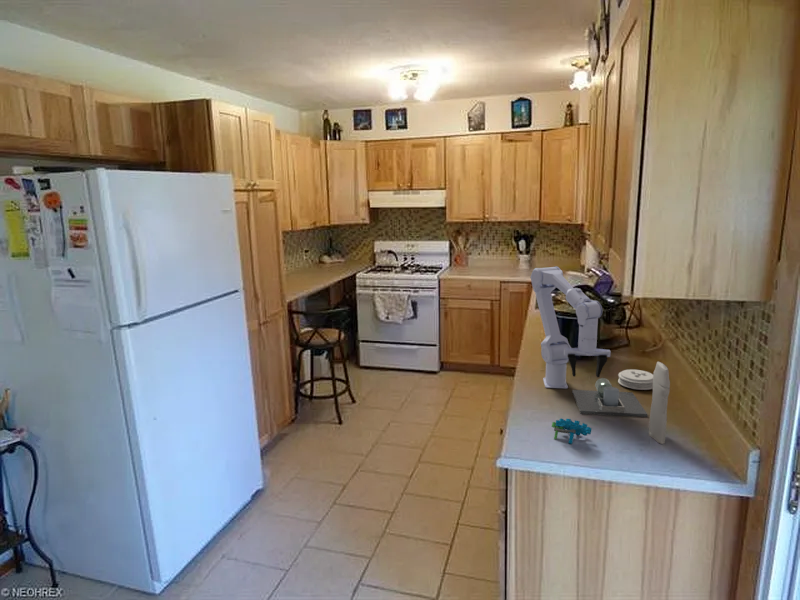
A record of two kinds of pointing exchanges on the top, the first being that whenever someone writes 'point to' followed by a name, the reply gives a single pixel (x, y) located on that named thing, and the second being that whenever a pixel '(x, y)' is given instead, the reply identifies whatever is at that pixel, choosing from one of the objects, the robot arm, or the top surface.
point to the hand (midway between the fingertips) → (585, 375)
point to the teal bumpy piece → (570, 428)
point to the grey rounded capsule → (611, 396)
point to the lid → (636, 379)
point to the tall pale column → (659, 403)
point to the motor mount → (594, 405)
